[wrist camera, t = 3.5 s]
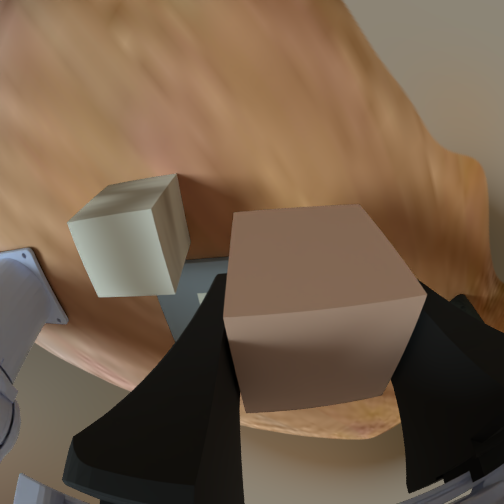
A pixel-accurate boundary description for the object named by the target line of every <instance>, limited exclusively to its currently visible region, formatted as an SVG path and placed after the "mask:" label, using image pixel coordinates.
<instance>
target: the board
mask: <svg viewBox="0 0 504 504" xmlns="http://www.w3.org/2000/svg"><path fill="white" fill-rule="evenodd" d="M228 261H229V257H218V258H206V259H194V260H185V263H184V266H183V269H182V273H181V276H180V280H179V283H178V287H177V290H176V294H172V295H157V297H158V300H159V302H160V305H161V308H162V310H163V313H164V315H165V318H166V321H167V323H168V326H169V328H170V330H171V333H172V335H173V338H174V340H175V342H176V341H177V340H178V338H179V337H180V335H181V334H182V332H183V331H184V329H185V328H186V327H187V325H188V324H189V322H190V321H191V319H192V317H193V316H194V314H195V313H196V311H197V309H198V308H199V306H200V304H201V303H202V301H203V299H204V297H205V296H206V294H207V292H208V290H209V288H210V286H211V284H212V282H213V280H214V278H215V276H216V275H217V274H222V273H227V271H228Z"/></svg>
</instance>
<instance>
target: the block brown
mask: <svg viewBox="0 0 504 504" xmlns="http://www.w3.org/2000/svg"><path fill="white" fill-rule="evenodd" d="M426 297H427V293H426V292H425V290H424V289H423V287H422V286H421V284H420V283H419V282H418V280H417V279H416V277H415V276H414V274H413V273H412V271H411V270H410V269H409V267H408V266H407V264H406V263H405V262H404V260H403V259H402V258H401V256H400V255H399V253H398V252H397V251H396V249H395V248H394V247H393V245H392V244H391V243H390V242H389V240H388V239H387V238H386V236H385V235H384V234H383V233H382V231H381V230H380V229H379V227H378V226H377V225H376V224H375V222H374V221H373V220H372V219H371V218H370V216H369V215H368V214H367V213H366V211H365V210H364V209H363V208H362V207H361V206H360V204H351V205H331V206H313V207H297V208H282V209H269V210H256V211H244V212H234V214H233V223H232V232H231V241H230V251H229V261H228V271H227V281H226V291H225V302H224V313H223V319H224V324H225V328H226V333H227V337H228V342H229V346H230V350H231V355H232V359H233V363H234V367H235V371H236V376H237V380H238V384H239V388H240V392H241V396H242V400H243V403H244V407H245V411H246V413H259V412H275V411H287V410H297V409H306V408H314V407H321V406H328V405H334V404H341V403H346V402H352V401H357V400H362V399H367V398H372V397H376V396H381V395H382V394H383V392H384V390H385V388H386V387H387V385H388V383H389V381H390V379H391V377H392V375H393V373H394V371H395V369H396V367H397V365H398V363H399V361H400V359H401V357H402V355H403V353H404V351H405V348H406V346H407V344H408V342H409V339H410V337H411V335H412V332H413V330H414V328H415V325H416V323H417V320H418V318H419V315H420V313H421V310H422V308H423V305H424V302H425V299H426Z"/></svg>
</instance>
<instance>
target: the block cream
mask: <svg viewBox="0 0 504 504" xmlns="http://www.w3.org/2000/svg"><path fill="white" fill-rule="evenodd" d="M67 224H68V226H69V229H70V232H71V234H72V237H73V240H74V242H75V245H76V247H77V250H78V252H79V255H80V257H81V260H82V262H83V264H84V267H85V269H86V271H87V273H88V276H89V278H90V280H91V282H92V284H93V286H94V289H95V291H96V293H97V295H98V297H127V296H152V295H172V294H176V290H177V287H178V283H179V280H180V276H181V273H182V269H183V266H184V263H185V259H186V256H187V253H188V250H189V246H190V243H191V241H190V237H189V232H188V227H187V223H186V218H185V213H184V208H183V203H182V198H181V193H180V188H179V182H178V177H177V173H176V174H169V175H163V176H157V177H151V178H145V179H139V180H133V181H128V182H123V183H118V184H113V185H108V186H107V187H106V188H104V189H103V190H102V191H101V192H100V193H99V194H98V195H96V196H95V197H94V198H93V199H92V200H91V201H90V202H89V203H87V204H86V205H85V206H84V207H83V208H82V209H81V210H80V211H79V212H78V213H77V214H76V215H74V216H73V217H72V218H71V219H70V220H69V221H68V222H67Z"/></svg>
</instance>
